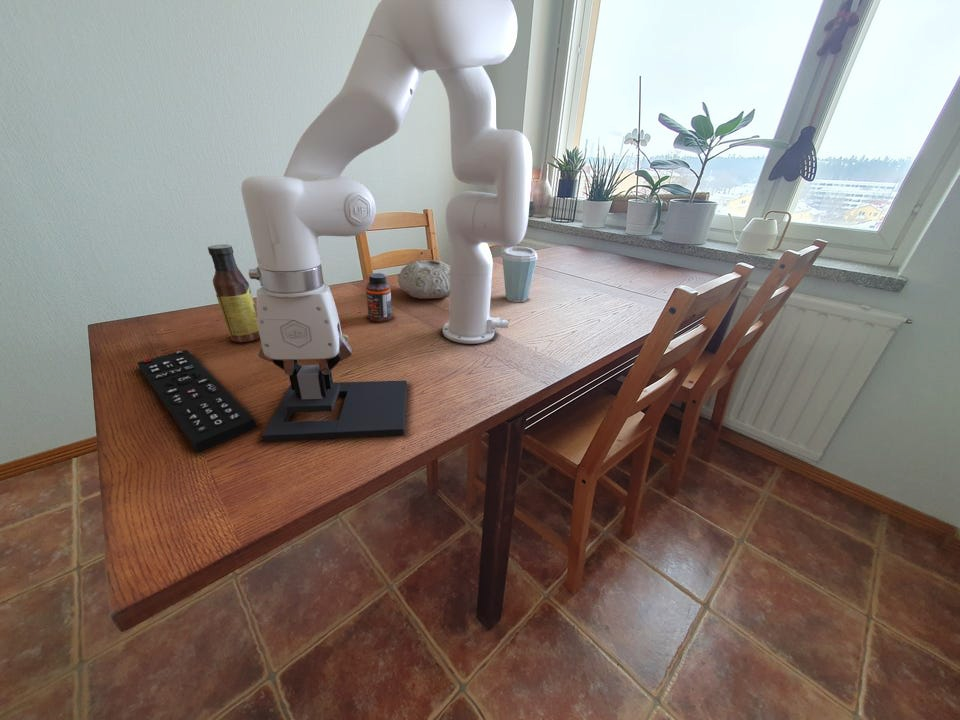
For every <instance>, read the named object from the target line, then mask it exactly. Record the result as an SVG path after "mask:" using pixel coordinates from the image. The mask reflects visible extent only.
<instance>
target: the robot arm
mask: <svg viewBox="0 0 960 720" xmlns="http://www.w3.org/2000/svg"><path fill="white" fill-rule="evenodd" d="M517 36H518V17H517V12H516V10H515V6H514V4H513V1H512V0H380V1H379V3H378V4H377V6H376V7H375V9H374V12H373V13H372V16H371V18H370V20H369V23H368V26H367V28H366V30H365V33H364V35H363V37H362V40H361V42H360V45H359V48H358V50H357V52H356V55H355V57H354V60H353V62H352V65H351V66H350V69H349V72H348V74H347V76H346V79H345V81H344V83H343V85H342V88H341V89H340V91H339V92H338V94H336V95H335V97H333V99H332V100H331V101H330V102H329V103H328V104H326V106H325V107H324V109H322V111H321V112H320V113H319V114H318V116H316V118H315V119H313V121H312V122H311V123H310V124H309V126H308V127H307V128H306V129H305V131H304V132H303V134H302V135H301V136H300V138H299V140H298V142H297V143H296V145H295V147H294V149H293V151H292V153H291V156H290V159H289V161H288V164H287V166H286V169H285V171H284V174H283V176H282V175H280V176H279V175H254V176H253V175H252V176H249V177H246V178H245V179H243V181H242V183H241V186H240V187H241V189H240V190H241V195H242V201H243V204H244V209H245V213H246V218H247V222H248V227H249V231H250V235H251V239H252V244H253V249H254V253H255V257H256V262H257V266H256V267H255V268H249V270H248V277H249V279H250V280H257V281H259V283H260V288H258V289H257V290H256V311H257V317H258V326H259V333H260V338H259V339H260V344H261V346H260V348H259V350H258V353H257V356H258V358H260V359H262V360H264V361H267V362H270V363H272V364H274V365H275V366H277V367H278V368H280V369H281V370H283V371H284V374H285V375H286V376H288V377H289V382H290V385H291V387H292V390H295V393H296V397H297V398H300V397H301V393H300V388H299V383H298V378H297V373H298V372H299V370H300V368H301V366H302V365H300V364H299V361H313V360H314V361H316V360H317V363H318V364H317V365H319V367H320V373H319V375H318V379H319V385H320V390H321V396H323V397H327V394H328V392H329V389H332V387H333V382H334V381H333V374H332V370H334V368H335V367H336V366H337V365H338V364H339V363H340V362H342V361H344V360H346V359H349V358H351V357H352V355H353V352H354V350H353V348H352V346H351V345H350V344H349V343H348V342H347V341H346V340H345V339H344V337H343V336H342V334H343V333H342V328H341V321H340V318H339V314H338V310H337V306H336V303H335V300H334V296H333V293H332V291H331V287H330V286H329V285H328V284H326V283H325V281H324V274H323V268H322V262H321V255H320V247H319V240H318V238H319V237H345V238H347V237H355V236H358V235H361V234H363V233H364V232H366V231H367V230H368V229H369V228H370V227H371V226H372V224H373V223H374V221H375V220H376V219H375V218H376V214H377V205H376V201H375V199H374V196H373V194H372V193H371V191H370V190H369V189H368V188H367V187H366V186H365V185H364V184H362V183H361V182H359V181H358V180H356V179H353V178H350V177H347V176H341V175H342V174H343V172H344V170H345V169H346V168H347V166H348V165H350V163H351V162H352V161H354V160H355V158H357V157H358V156H360V155H361V154H363V153H364V152H366V151H368V150H370V149H372V148H374V147H376V146H378V145H380V144H383V143H384V142H385V141H387V140H389V139H390V138H391V137H393V136H395V135H396V134H397V133H398V132H399V131H400V129H401V127H402V125H403V124H404V120H405V118H406V115H407V113H408V111H409V107H410V105H411V102H412V100H413V98H414V95H415V92H416V90H417V88H418V85H419V84H420V82H421V79H422V77H423V75H424V74H425V72H427V71H435V73H436V74H437V76H438V77H439V79H440V81H441V82H442V85H443V87H444V89H445V92H446V95H447V100H448V107H449V127H450V129H449V130H450V131H449V132H450V133H449V134H450V157H451V158H450V159H451V169H452V173H453V175H454V177H455V179H457V180H458V181H459V182H461V183H465V184H468V185H474V186H483V187H493V188H496V193H490V192H482V191H474V190H465V191H460V192H458V193H456V194H454V195H453V196H452V197H451V198H450V199H449V200H448V203H447V205H446V208H445V224H446V225H445V226H446V230H447V235H448V242H449V244H448V245H449V266H450V295H449V304H448V307H449V309H448V310H449V311H448V322H446V323H445V324H444V325H443V326H442V335H443V336H444V337H445V338H446V339H448V340H449V341H452V342H455V343H458V344H465V345H466V344H467V345H471V344H472V345H474V344H483V343H485V342H488V341H490V340H492V339H493V338H494V336H495V330H496V329H508V328H509V320H508V319H502V317H498V316H497V317H493V316H491V315H490V309H491V308H490V307H491V295H492V279H493V267H494V263H493V262H494V261H493V256H492V252H491V249H490V247H489V245H493V246H500V247H505V248H509V247H515V246H517V245H519V244H520V243H521V242H522V240H524V237H525V235H526V233H527V229H528V224H529V215H530V200H531V188H532V176H533V175H532V174H533V154H532V153H533V152H532V148H531V145H530V141H529V139H528V138H527V137H526V135H525V134H524V133H523V132H521V131H519V130H515V129H508V128H497V102H496V101H497V100H496V99H497V98H496V93H495V89H494V86H493V83H492V81H491V79H490V77H489V75H488V73H487V72H486V70H485V68H484V66H493V65H499V64H501V63H503V62H504V61H505V60H507V58H509V57H510V55H511V53H512V52H513V49H514V47H515V45H516V41H517ZM488 244H489V245H488ZM339 350H340V351H339Z"/></svg>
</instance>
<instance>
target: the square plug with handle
mask: <svg viewBox="0 0 960 720" xmlns="http://www.w3.org/2000/svg"><path fill="white" fill-rule="evenodd" d="M300 366H301V368H300V370H299V372H298V373H297V378H298V383H299V388H300V393H301V397H300V398H297V397H296V393H295V391H294V393H293V395H292V397H291V399H290V400H289V402H288V404H287V406H286V408H287V413H292V414H301V413H302V414H303V413H330V412H331V413H332V412H333V411H334V408H335V405H336V402H337V399H338V398H339V397H338V394H339V391H340V383H333V387H332V389H329V392H328V394H327V397H323V396H321V390H320V385H319V379H318V375H319V373H320V367H319V364H301V365H300Z"/></svg>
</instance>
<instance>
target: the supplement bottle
mask: <svg viewBox="0 0 960 720" xmlns="http://www.w3.org/2000/svg"><path fill="white" fill-rule="evenodd" d="M365 293H366V306H367V316H368V319H369V320H370V321H372V322H376V323H377V322H378V323H379V322H387V321H389V320H391V319H392V317H393V311H392V309H393V308H392V307H393V306H392V291H391V284H390V283H389V282H387V276H386V274H385V273H382V272H373V273H370V274H368V282H367V283H366V285H365Z"/></svg>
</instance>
